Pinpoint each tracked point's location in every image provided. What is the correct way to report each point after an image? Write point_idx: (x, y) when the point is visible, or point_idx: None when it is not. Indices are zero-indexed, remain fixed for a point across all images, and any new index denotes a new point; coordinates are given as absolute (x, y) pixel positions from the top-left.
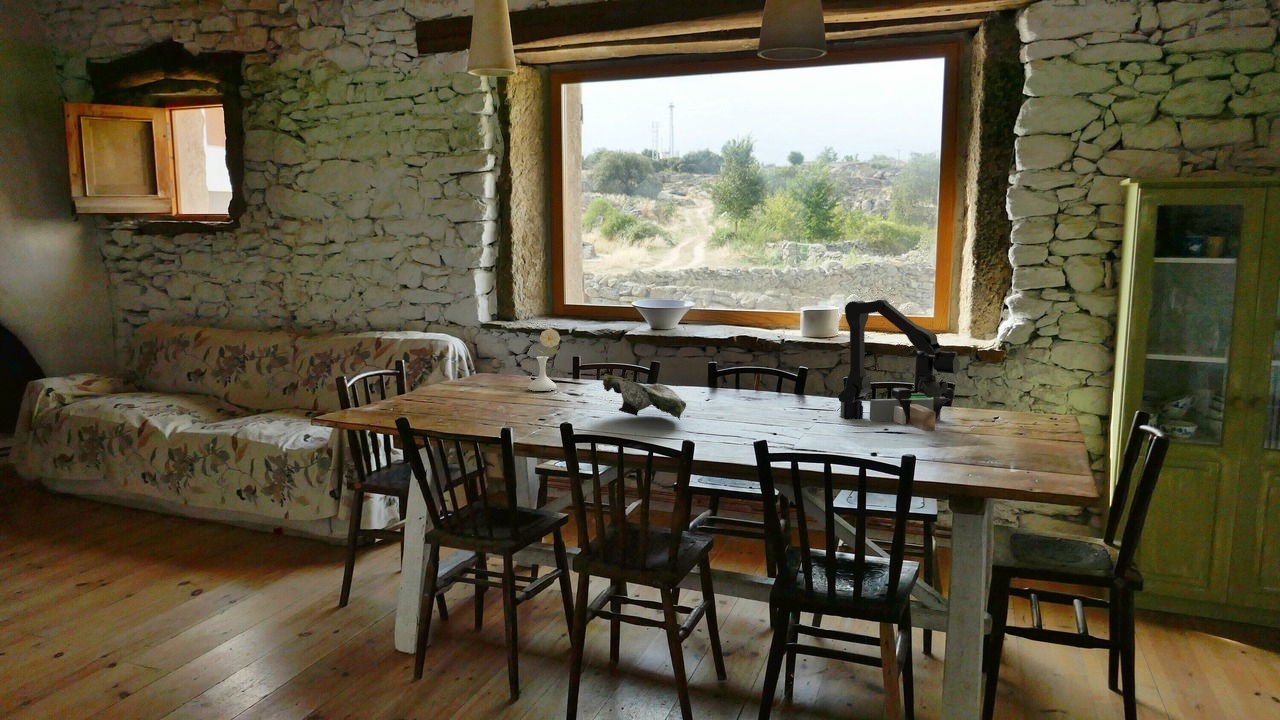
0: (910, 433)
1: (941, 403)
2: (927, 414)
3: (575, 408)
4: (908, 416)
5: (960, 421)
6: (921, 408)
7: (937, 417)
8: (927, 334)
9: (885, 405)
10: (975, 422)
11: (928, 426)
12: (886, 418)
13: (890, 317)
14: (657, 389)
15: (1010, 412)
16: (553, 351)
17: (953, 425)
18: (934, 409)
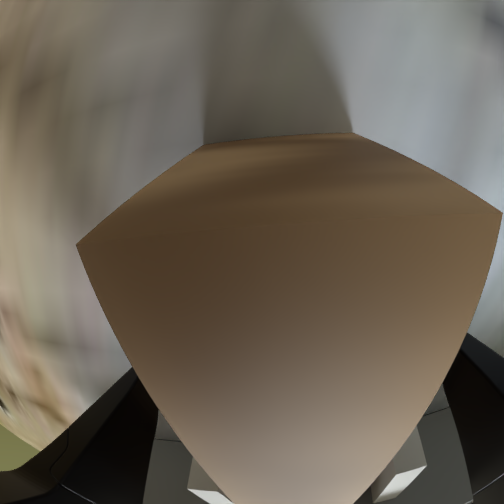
0: (491, 17)
1: (29, 484)
2: (356, 186)
3: None
4: (474, 342)
5: (56, 400)
6: (297, 484)
7: (124, 375)
8: None
9: (445, 484)
10: (11, 374)
11: (286, 142)
12: (423, 428)
13: None
14: None
15: (6, 427)
16: None
17: (59, 341)
18: (136, 462)
